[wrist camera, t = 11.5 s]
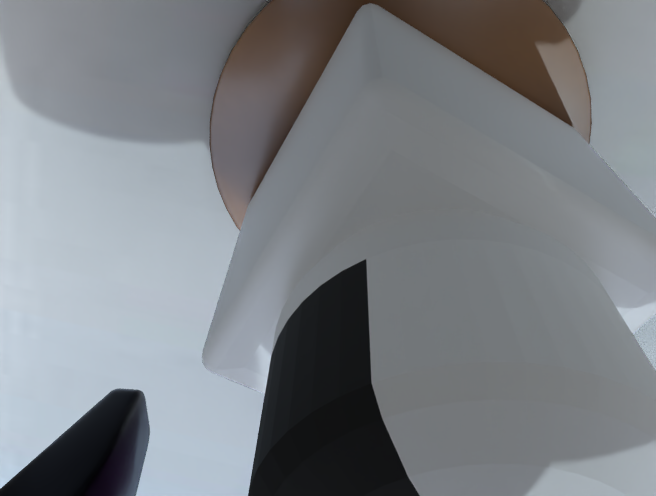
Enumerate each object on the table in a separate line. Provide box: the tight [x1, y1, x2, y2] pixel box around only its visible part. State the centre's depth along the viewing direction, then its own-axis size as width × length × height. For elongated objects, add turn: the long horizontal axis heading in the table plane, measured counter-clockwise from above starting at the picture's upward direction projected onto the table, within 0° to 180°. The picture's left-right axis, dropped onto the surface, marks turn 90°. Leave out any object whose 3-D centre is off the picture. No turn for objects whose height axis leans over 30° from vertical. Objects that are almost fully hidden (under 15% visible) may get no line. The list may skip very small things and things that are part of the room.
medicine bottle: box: [202, 3, 656, 496], centre depth 12 cm, size 7×7×12 cm
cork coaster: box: [210, 0, 592, 230], centre depth 17 cm, size 11×11×1 cm
